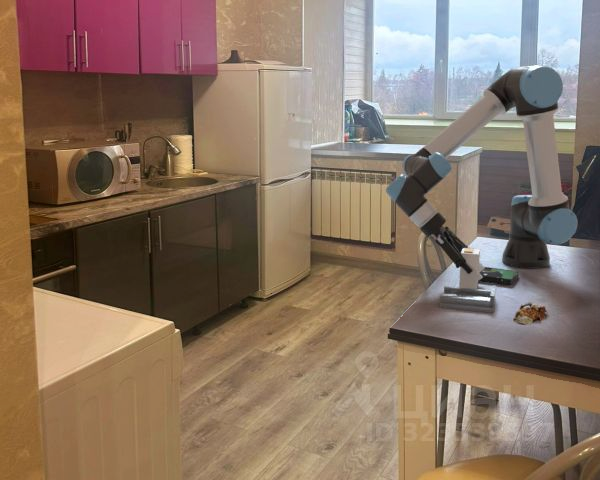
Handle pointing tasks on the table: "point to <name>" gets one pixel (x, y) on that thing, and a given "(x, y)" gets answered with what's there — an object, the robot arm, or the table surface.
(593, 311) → the table surface
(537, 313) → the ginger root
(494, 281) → the disk drive
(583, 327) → the table surface
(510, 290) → the table surface
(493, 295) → the rail base
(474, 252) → the block
